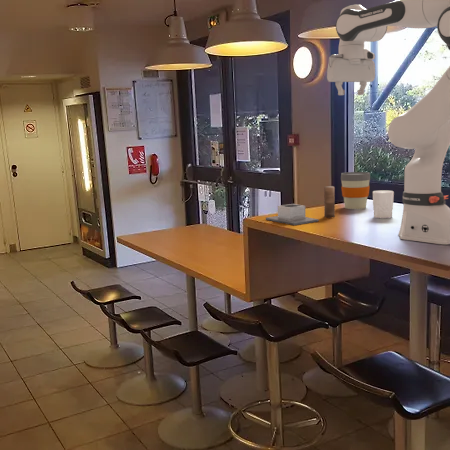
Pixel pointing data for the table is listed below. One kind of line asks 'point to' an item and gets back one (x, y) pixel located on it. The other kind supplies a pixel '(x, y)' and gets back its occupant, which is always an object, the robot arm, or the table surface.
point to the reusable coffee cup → (355, 189)
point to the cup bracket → (292, 215)
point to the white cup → (383, 203)
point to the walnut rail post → (329, 202)
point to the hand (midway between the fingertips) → (351, 95)
